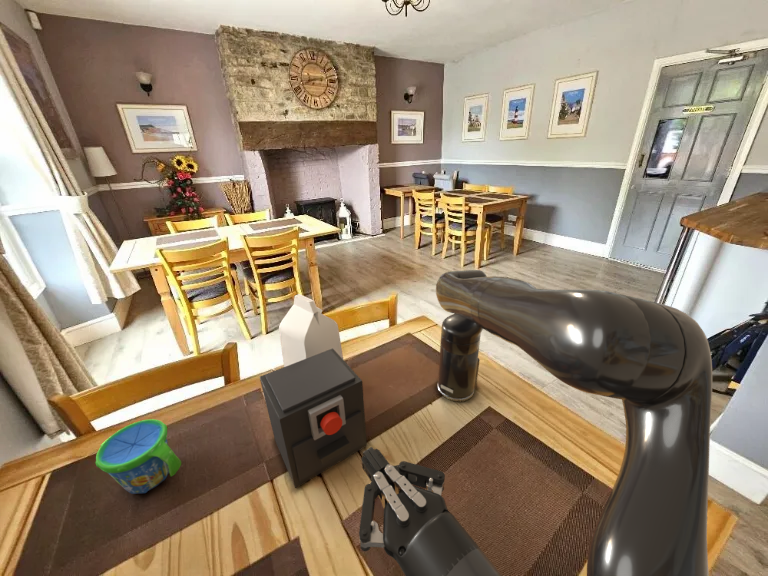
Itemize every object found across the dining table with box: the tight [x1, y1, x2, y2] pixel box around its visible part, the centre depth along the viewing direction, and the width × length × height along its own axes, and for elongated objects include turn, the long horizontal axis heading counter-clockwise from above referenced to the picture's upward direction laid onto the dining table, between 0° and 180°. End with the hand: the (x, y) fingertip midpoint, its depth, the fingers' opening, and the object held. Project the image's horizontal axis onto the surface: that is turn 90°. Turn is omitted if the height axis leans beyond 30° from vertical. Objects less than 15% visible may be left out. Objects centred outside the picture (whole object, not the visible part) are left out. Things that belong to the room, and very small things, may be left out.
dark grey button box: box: [259, 348, 368, 489], centre depth 63 cm, size 16×16×19 cm
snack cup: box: [94, 418, 182, 495], centre depth 60 cm, size 16×10×10 cm
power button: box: [321, 412, 343, 435], centre depth 55 cm, size 4×2×4 cm, turn 124°
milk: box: [278, 293, 344, 367], centre depth 80 cm, size 12×12×26 cm
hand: (366, 453), depth 43 cm, fingers closed
